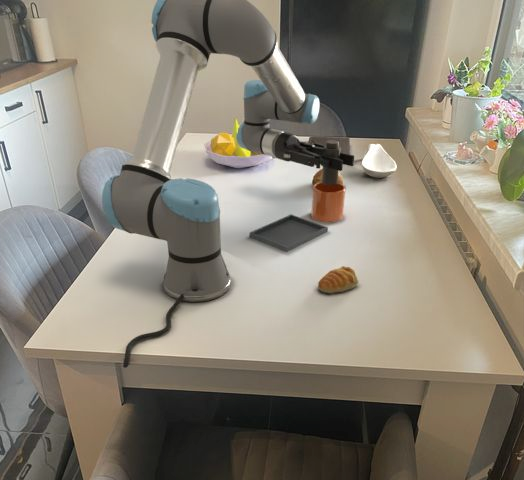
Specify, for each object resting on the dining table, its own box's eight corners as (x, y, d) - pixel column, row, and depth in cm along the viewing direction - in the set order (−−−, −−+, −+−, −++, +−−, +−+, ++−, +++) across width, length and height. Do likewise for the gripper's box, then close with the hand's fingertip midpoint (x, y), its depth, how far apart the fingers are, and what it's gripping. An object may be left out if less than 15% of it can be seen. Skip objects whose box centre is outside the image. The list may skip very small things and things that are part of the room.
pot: (329, 226, 152) (332, 195, 147) (304, 217, 157) (306, 187, 152) (348, 217, 158) (351, 186, 152) (323, 209, 162) (326, 179, 157)
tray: (286, 253, 139) (286, 247, 138) (249, 238, 146) (249, 232, 145) (327, 233, 149) (327, 227, 148) (290, 219, 156) (290, 214, 155)
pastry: (330, 299, 121) (332, 284, 119) (310, 287, 125) (311, 272, 123) (360, 286, 126) (361, 271, 123) (339, 275, 130) (340, 260, 127)
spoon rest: (398, 181, 182) (401, 159, 178) (363, 181, 182) (365, 159, 177) (385, 159, 201) (387, 139, 196) (353, 159, 201) (355, 139, 196)
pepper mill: (331, 186, 149) (334, 145, 142) (318, 182, 151) (321, 142, 144) (340, 182, 151) (344, 141, 145) (328, 178, 154) (331, 138, 147)
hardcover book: (349, 143, 216) (349, 137, 215) (349, 161, 198) (349, 155, 197) (309, 142, 218) (309, 136, 217) (305, 160, 200) (305, 153, 198)
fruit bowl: (273, 176, 186) (273, 141, 179) (196, 171, 189) (193, 137, 182) (283, 151, 208) (284, 120, 201) (214, 148, 211) (212, 117, 204)
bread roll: (342, 201, 177) (353, 178, 173) (317, 192, 171) (329, 167, 168) (328, 191, 184) (339, 168, 181) (304, 181, 179) (315, 158, 175)
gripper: (300, 151, 164) (364, 169, 152) (260, 165, 154) (326, 185, 141) (301, 126, 160) (367, 141, 147) (261, 138, 150) (328, 156, 137)
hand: (347, 163), depth 144 cm, fingers closed on pepper mill, 4 cm apart
